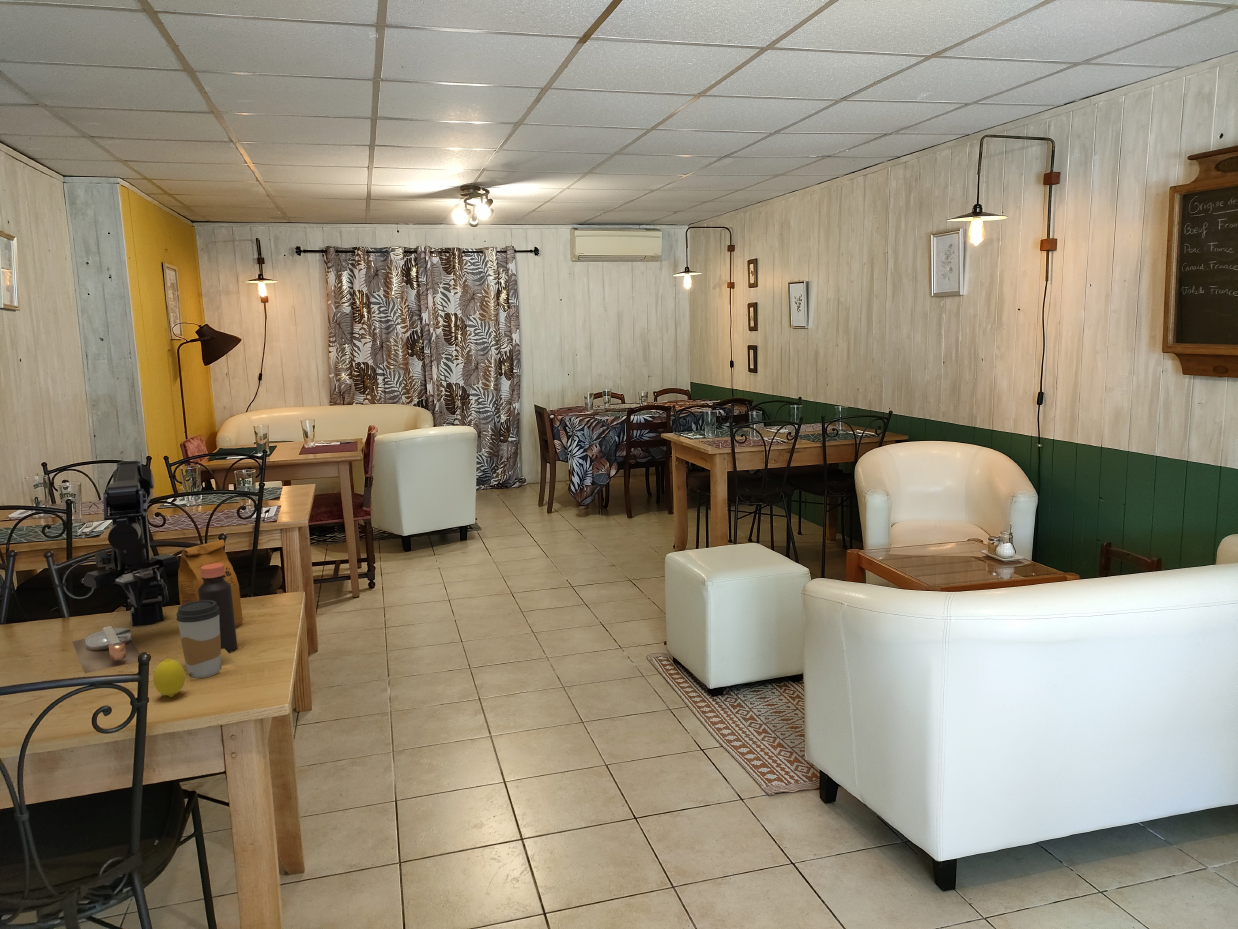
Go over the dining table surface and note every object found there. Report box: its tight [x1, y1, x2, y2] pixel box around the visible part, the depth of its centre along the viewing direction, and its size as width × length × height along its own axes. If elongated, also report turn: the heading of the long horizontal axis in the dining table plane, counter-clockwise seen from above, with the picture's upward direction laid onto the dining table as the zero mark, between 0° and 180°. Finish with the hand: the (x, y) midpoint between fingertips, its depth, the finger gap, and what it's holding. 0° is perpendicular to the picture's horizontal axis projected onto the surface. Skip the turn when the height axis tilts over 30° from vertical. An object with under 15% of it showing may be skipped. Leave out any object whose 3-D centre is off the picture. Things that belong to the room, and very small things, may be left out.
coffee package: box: [177, 539, 244, 628], centre depth 206 cm, size 10×12×22 cm
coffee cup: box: [176, 600, 222, 679], centre depth 180 cm, size 8×8×15 cm
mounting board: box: [71, 638, 141, 674], centre depth 192 cm, size 11×25×2 cm, turn 38°
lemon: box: [153, 658, 186, 698], centre depth 169 cm, size 6×6×8 cm
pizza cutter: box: [84, 625, 132, 661], centre depth 191 cm, size 9×22×4 cm, turn 38°
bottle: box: [198, 563, 238, 654], centre depth 193 cm, size 7×7×20 cm
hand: (137, 607), depth 193 cm, fingers closed
